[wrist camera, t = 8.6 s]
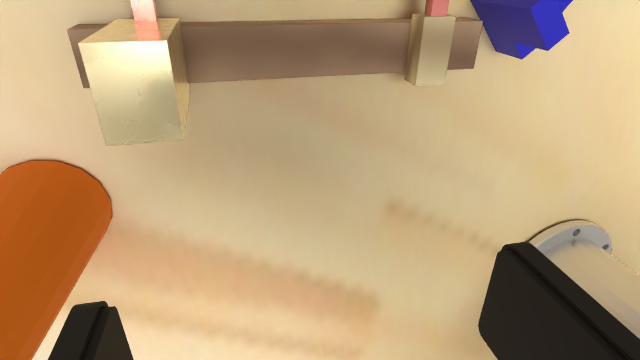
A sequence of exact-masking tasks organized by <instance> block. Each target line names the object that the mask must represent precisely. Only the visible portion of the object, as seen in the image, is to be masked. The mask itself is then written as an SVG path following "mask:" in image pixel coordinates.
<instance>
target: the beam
mask: <svg viewBox="0 0 640 360" xmlns="http://www.w3.org/2000/svg"><path fill="white" fill-rule="evenodd" d="M448 3H449V0H426V7H425V14H412V18H403V19H348V20H293V21H238V22H183V23H180V28H181V35H182V42H183V48H184V55H185V61H186V68H187V75H188V81H189V83H196V82H216V81H236V80H256V79H275V78H295V77H315V76H335V75H355V74H375V73H394V72H405V80H406V81H408V82H409V83H411V84H413V85H414V86H427V85H444V84H445V79H446V73H447V70H454V69H474V64H475V59H476V54H477V49H478V44H479V39H480V34H481V29H482V24H483V21H480V20H476V19H471V18H466V17H458V18H456V16H452V15H448V14H447V10H448ZM107 25H108V24H78V25H76V26H74V27H72V28H70V29H68V30H67V31H68V35H69V38H70V42H71V45H72V49H73V52H74V56H75V59H76V63H77V66H78V70H79V73H80V77H81V81H82V84H83V88H90V85H89V81H88V77H87V74H86V70H85V67H84V63H83V59H82V56H81V52H80V48H79V45H78V43H79V42H81V41H82V40H84V39H86V38H87V37H89V36H90V35H92V34H94V33H95V32H97V31H99V30H100V29H102V28H103V27H105V26H107Z"/></svg>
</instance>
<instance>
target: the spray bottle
mask: <svg viewBox="0 0 640 360" xmlns="http://www.w3.org/2000/svg"><path fill="white" fill-rule="evenodd" d="M111 219H112V211H111V202H110V198H109V197H108V195H107V194H106V192H105V191H104V189H103V188H102V186H101V184H100V183H99V182H98V181H97V180H95V179H94V178H92V177H91V176H90V175H88V174H87V173H86V172H84V171H83V170H82V169H79V168H76V167H73V166H70V165H67V164H64V163H61V162H58V161H29V162H25V163H22V164H19V165H16V166H13V167H9V168H7V169H6V170H5V171H4V172H3V173H2V174H1V175H0V360H32V358H33V357H34V355H35V353H36V351H37V350H38V348H39V346H40V344H41V343H42V341H43V339H44V338H45V336H46V334H47V332H48V331H49V329H50V327H51V325H52V324H53V322H54V320H55V319H56V317H57V315H58V313H59V312H60V310H61V308H62V306H63V305H64V303H65V301H66V300H67V298H68V296H69V294H70V293H71V291H72V289H73V287H74V286H75V284H76V282H77V281H78V279H79V277H80V275H81V274H82V272H83V270H84V268H85V267H86V265H87V263H88V262H89V260H90V258H91V256H92V255H93V253H94V251H95V249H96V248H97V246H98V244H99V243H100V241H101V239H102V237H103V236H104V234H105V232H106V230H107V228H108V225H109V223H110V221H111Z"/></svg>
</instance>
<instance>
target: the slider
mask: <svg viewBox="0 0 640 360" xmlns="http://www.w3.org/2000/svg"><path fill="white" fill-rule="evenodd" d="M130 1H131V6H132V11H133V15H134V19H116V20H115V21H113V22H111V23H110V24H108V25H107V26H105V27H103V28H102V29H100V30H99V31H97V32H95V33H94V34H92V35H90V36H89V37H87V38H86V39H84V40H82V41H81V42H79V43H78V45H79V48H80V52H81V56H82V59H83V63H84V67H85V70H86V74H87V77H88V81H89V85H90V88H91V92H92V96H93V99H94V103H95V106H96V110H97V114H98V117H99V121H100V125H101V128H102V132H103V135H104V139H105V143H106V146H112V145H125V144H137V143H150V142H162V141H175V140H184V133H185V126H186V119H187V112H188V105H189V98H190V88H189V81H188V75H187V68H186V61H185V55H184V48H183V42H182V35H181V28H180V22H179V18H158V16H157V10H156V4H155V0H130Z"/></svg>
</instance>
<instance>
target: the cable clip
mask: <svg viewBox="0 0 640 360" xmlns="http://www.w3.org/2000/svg"><path fill="white" fill-rule="evenodd" d="M572 1H573V0H471V2H472V4H473V6H474V8H475V10H476V12H477V14H478V16H479V18H480V20H481V21H483V26H484V28H485V30H486V32H487V34H488V36H489V38H490V40H491V42H492V44H493V46H494V48H495V50H496V51H497V52H500V53H503V54H506V55H510V56H513V57H516V58H519V59H523V58H524V57H526V56H527V55H528V54H529V53H530V52H532V51H533V50H534V49H535V48H539V49H543V50H546V51H548V50H549V49H551V48H552V47H553V46H554V45H555V44H557V43H558V42H559V41H560V40H561V39H563V38H564V37H565V36H566V35H567V34H569V30H568V28H567V25H566V22H565V20H564V17H563V14H562V12H563V11H564V10H565V8H566V7H567V6H568V5H569V4H570V3H571V2H572Z"/></svg>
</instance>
